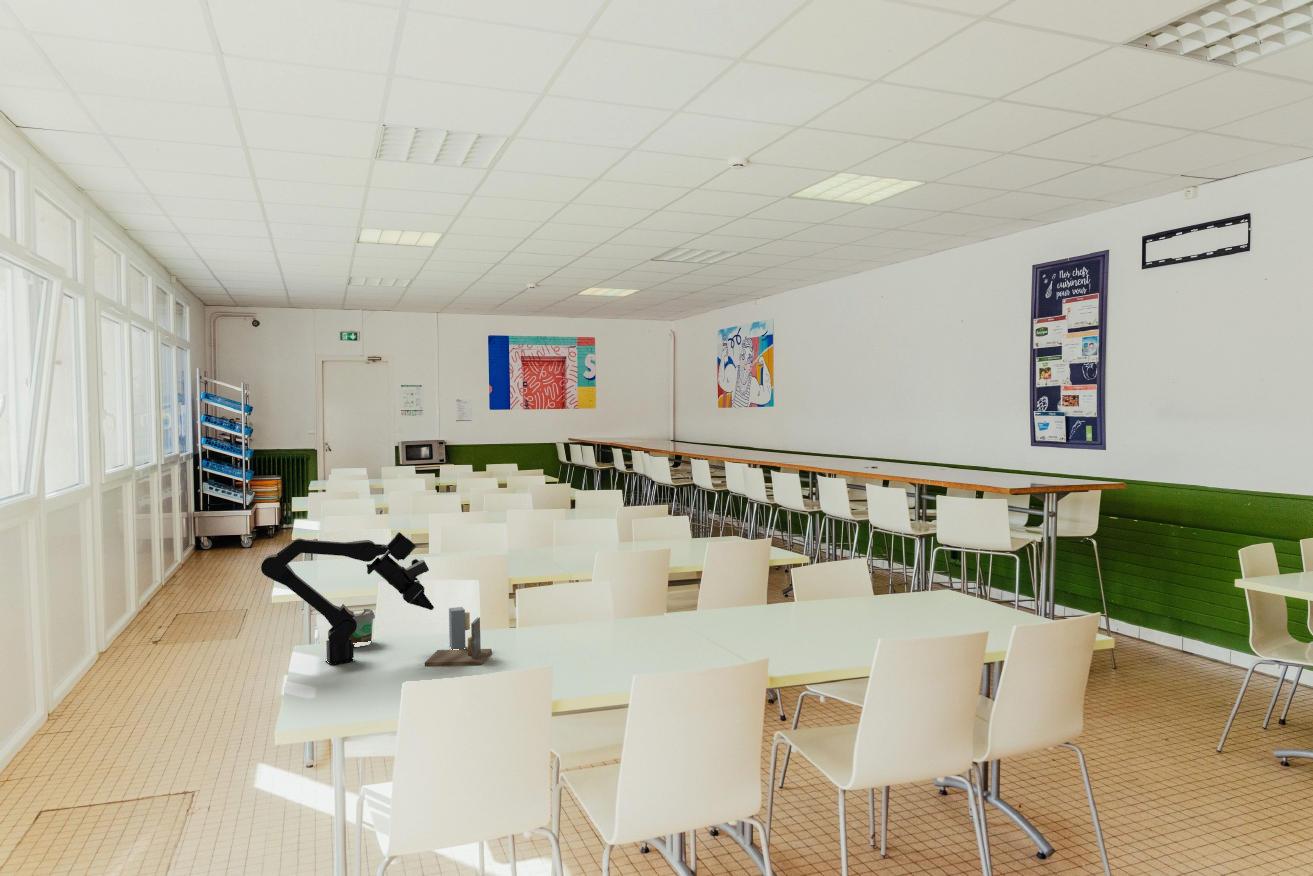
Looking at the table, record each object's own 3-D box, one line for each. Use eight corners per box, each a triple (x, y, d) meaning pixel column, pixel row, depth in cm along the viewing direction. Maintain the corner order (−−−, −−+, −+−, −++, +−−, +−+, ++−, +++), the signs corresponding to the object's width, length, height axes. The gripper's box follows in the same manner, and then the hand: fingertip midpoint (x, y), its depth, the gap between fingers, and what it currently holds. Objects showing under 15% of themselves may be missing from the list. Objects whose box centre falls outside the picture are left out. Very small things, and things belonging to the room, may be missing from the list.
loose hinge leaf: (452, 651, 246) (451, 611, 246) (449, 647, 251) (448, 608, 251) (471, 648, 248) (470, 609, 248) (468, 645, 253) (468, 606, 253)
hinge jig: (424, 666, 229) (423, 626, 230) (437, 653, 243) (437, 616, 244) (481, 664, 230) (480, 625, 230) (491, 652, 244) (490, 615, 244)
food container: (361, 650, 250) (361, 617, 250) (343, 649, 251) (342, 616, 251) (383, 640, 262) (382, 609, 262) (365, 639, 263) (365, 608, 263)
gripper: (415, 555, 236) (454, 590, 240) (408, 548, 253) (445, 581, 257) (386, 585, 233) (427, 620, 237) (382, 575, 250) (420, 608, 254)
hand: (431, 606), depth 246 cm, fingers open, 9 cm apart
